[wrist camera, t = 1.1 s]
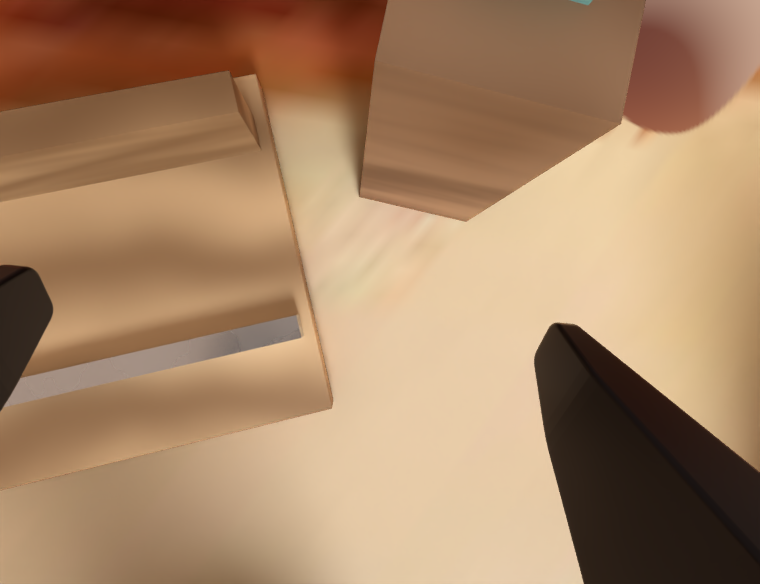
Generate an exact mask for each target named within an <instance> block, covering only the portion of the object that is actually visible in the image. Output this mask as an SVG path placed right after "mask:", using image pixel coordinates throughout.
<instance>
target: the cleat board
mask: <svg viewBox="0 0 760 584" xmlns="http://www.w3.org/2000/svg"><path fill="white" fill-rule="evenodd" d="M0 265H17V266H27V267H30V268H33V269H34V270H35V271H37V272H38V274H39V276H40V278H41V280H42V282H43V284H44V286H45V288H46V290H47V293H48V295H49V297H50V299H51V301H52V304H53V315H52V318H51V320H50V322H49V324H48V326H47V328H46V330H45V332H44V334H43V336H42V338H41V340H40V341H39V343H38V345H37V347H36V349H35V351H34V353H33V355H32V357H31V359H30V361H29V363H28V364H27V366H26V368H25V370H24V372H23V374H22V376H21V378H20V380H19V382H18V383H17V385H16V387H15V389H14V391H13V392H12V394H11V396H10V397H9V399H8V401H7V402H6V404H5V405H4V407H3V409H2V410H1V412H0V490H4V489H8V488H13V487H17V486H21V485H25V484H29V483H33V482H37V481H41V480H45V479H49V478H53V477H57V476H61V475H65V474H69V473H73V472H77V471H81V470H85V469H89V468H93V467H97V466H101V465H105V464H109V463H113V462H117V461H122V460H126V459H130V458H134V457H138V456H142V455H146V454H150V453H154V452H158V451H162V450H166V449H170V448H174V447H178V446H182V445H186V444H190V443H194V442H198V441H202V440H206V439H210V438H214V437H218V436H222V435H226V434H231V433H235V432H239V431H243V430H247V429H251V428H255V427H259V426H263V425H267V424H271V423H275V422H279V421H283V420H287V419H291V418H295V417H299V416H303V415H307V414H311V413H315V412H319V411H323V410H327V409H331V408H332V405H333V397H332V393H331V388H330V384H329V380H328V375H327V371H326V367H325V362H324V358H323V353H322V349H321V345H320V340H319V336H318V332H317V327H316V323H315V318H314V314H313V310H312V305H311V301H310V297H309V292H308V288H307V283H306V279H305V275H304V270H303V266H302V262H301V257H300V253H299V248H298V244H297V240H296V235H295V231H294V227H293V222H292V218H291V213H290V209H289V205H288V200H287V196H286V192H285V187H284V183H283V178H282V174H281V170H280V165H279V161H278V157H277V152H276V148H275V143H274V139H273V135H272V130H271V126H270V122H269V117H268V113H267V108H266V104H265V100H264V95H263V91H262V88H261V86H260V83H259V81H258V79H257V76H256V74H253V75H247V76H242V77H236V78H233V77H232V75H231V73H230V71H229V70H228V71H223V72H217V73H212V74H206V75H200V76H195V77H189V78H184V79H178V80H173V81H167V82H162V83H156V84H151V85H145V86H140V87H134V88H129V89H123V90H117V91H112V92H106V93H101V94H95V95H90V96H84V97H79V98H73V99H68V100H62V101H57V102H51V103H46V104H40V105H34V106H29V107H23V108H18V109H12V110H7V111H1V112H0Z"/></svg>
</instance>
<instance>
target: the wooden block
mask: <svg viewBox="0 0 760 584" xmlns="http://www.w3.org/2000/svg"><path fill="white" fill-rule="evenodd" d="M645 1H646V0H388V2H387V7H386V12H385V16H384V21H383V25H382V30H381V34H380V39H379V44H378V48H377V53H376V57H375V63H374V72H373V81H372V90H371V99H370V107H369V116H368V125H367V134H366V143H365V152H364V160H363V169H362V178H361V187H360V196H359V197H362V198H366V199H371V200H375V201H379V202H384V203H388V204H392V205H396V206H401V207H405V208H409V209H414V210H418V211H422V212H427V213H431V214H435V215H439V216H444V217H448V218H452V219H457V220H461V221H465V222H466V221H468V220H469V219H471V218H473V217H474V216H476V215H477V214H479V213H480V212H482V211H484V210H485V209H487V208H488V207H490V206H492V205H493V204H495V203H496V202H498V201H499V200H501V199H503V198H504V197H506V196H507V195H509V194H511V193H512V192H514V191H515V190H517V189H518V188H520V187H522V186H523V185H525V184H526V183H528V182H530V181H531V180H533V179H534V178H536V177H537V176H539V175H541V174H542V173H544V172H545V171H547V170H549V169H550V168H552V167H553V166H555V165H556V164H558V163H560V162H561V161H563V160H564V159H566V158H568V157H569V156H571V155H572V154H574V153H575V152H577V151H579V150H580V149H582V148H583V147H585V146H586V145H588V144H590V143H591V142H593V141H594V140H596V139H598V138H599V137H601V136H602V135H604V134H605V133H607V132H609V131H610V130H612V129H613V128H615V127H617V126H618V125H620V124H621V121H622V116H623V110H624V105H625V101H626V96H627V91H628V85H629V81H630V76H631V70H632V66H633V61H634V56H635V50H636V46H637V41H638V36H639V31H640V26H641V21H642V16H643V12H644V7H645Z"/></svg>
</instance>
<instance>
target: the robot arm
mask: <svg viewBox="0 0 760 584" xmlns="http://www.w3.org/2000/svg"><path fill="white" fill-rule="evenodd" d="M52 315H53V304H52V301H51V299H50V297H49V295H48V293H47V290H46V288H45V286H44V284H43V282H42V280H41V278H40V276H39V274H38V272H37V271H35V270H34V269H33V268H30V267H27V266H17V265H0V412H1V410H2V409H3V407H4V405H5V404H6V402H7V401H8V399H9V397H10V396H11V394H12V392H13V391H14V389H15V387H16V385H17V383H18V382H19V380H20V378H21V376H22V374H23V372H24V370H25V368H26V366H27V364H28V363H29V361H30V359H31V357H32V355H33V353H34V351H35V349H36V347H37V345H38V343H39V341H40V340H41V338H42V336H43V334H44V332H45V330H46V328H47V326H48V324H49V322H50V320H51V318H52ZM534 366H535V373H536V379H537V386H538V393H539V399H540V406H541V413H542V419H543V426H544V432H545V437H546V442H547V446H548V450H549V454H550V458H551V462H552V465H553V469H554V473H555V477H556V480H557V484H558V488H559V492H560V496H561V499H562V503H563V507H564V511H565V514H566V518H567V522H568V526H569V529H570V533H571V537H572V541H573V544H574V548H575V552H576V556H577V559H578V563H579V567H580V571H581V574H582V578H583V582H584V584H760V472H759V471H757V470H756V469H755V468H754V467H752V466H751V465H750V464H749V463H747V462H746V461H745V460H744V459H742V458H741V457H740V456H739V455H738V454H736V453H735V452H734V451H733V450H731V449H730V448H729V447H728V446H726V445H725V444H724V443H723V442H721V441H720V440H719V439H718V438H716V437H715V436H714V435H713V434H712V433H710V432H709V431H708V430H707V429H705V428H704V427H703V426H702V425H700V424H699V423H698V422H697V421H695V420H694V419H693V418H692V417H690V416H689V415H688V414H687V413H685V412H684V411H683V410H682V409H681V408H679V407H678V406H677V405H676V404H674V403H673V402H672V401H671V400H669V399H668V398H667V397H666V396H664V395H663V394H662V393H661V392H659V391H658V390H657V389H656V388H654V387H653V386H652V385H651V384H650V383H648V382H647V381H646V380H645V379H643V378H642V377H641V376H640V375H638V374H637V373H636V372H635V371H633V370H632V369H631V368H630V367H628V366H627V365H626V364H625V363H623V362H622V361H621V360H620V359H619V358H617V357H616V356H615V355H614V354H612V353H611V352H610V351H609V350H607V349H606V348H605V347H604V346H602V345H601V344H600V343H599V342H597V341H596V340H595V339H594V338H592V337H591V336H590V335H589V334H588V333H586V332H585V331H584V330H583V329H581V328H580V327H579V326H577V325H575V324H567V323H553V324H552V325H551V326H550V327H549V329H548V330H547V332H546V334H545V336H544V338H543V340H542V342H541V344H540V345H539V347H538V349H537V351H536V354H535V358H534Z"/></svg>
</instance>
